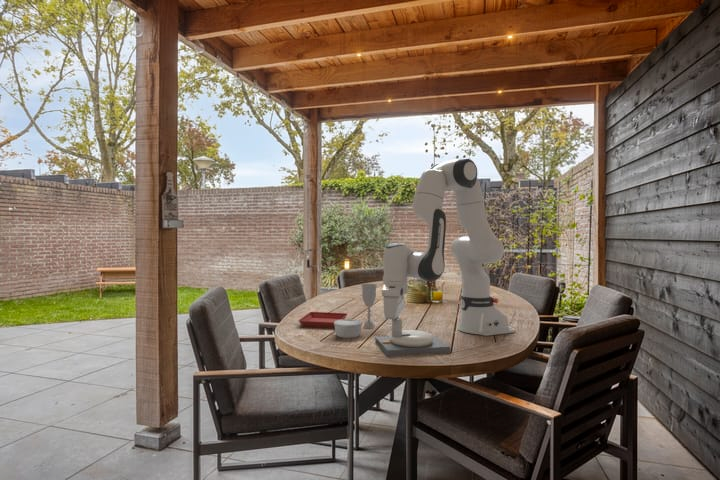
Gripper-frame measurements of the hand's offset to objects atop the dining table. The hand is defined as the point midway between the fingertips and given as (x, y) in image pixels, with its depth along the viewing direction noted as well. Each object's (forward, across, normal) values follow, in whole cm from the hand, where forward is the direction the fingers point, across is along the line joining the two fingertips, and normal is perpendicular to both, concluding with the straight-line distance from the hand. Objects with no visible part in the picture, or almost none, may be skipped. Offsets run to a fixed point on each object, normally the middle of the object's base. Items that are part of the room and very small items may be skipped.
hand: (395, 326), depth 147 cm
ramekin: (+7, -10, -20) cm, 24 cm away
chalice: (+7, -25, -16) cm, 30 cm away
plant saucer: (+8, -26, -37) cm, 46 cm away
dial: (+5, 0, +6) cm, 7 cm away
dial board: (+7, 0, +6) cm, 9 cm away
